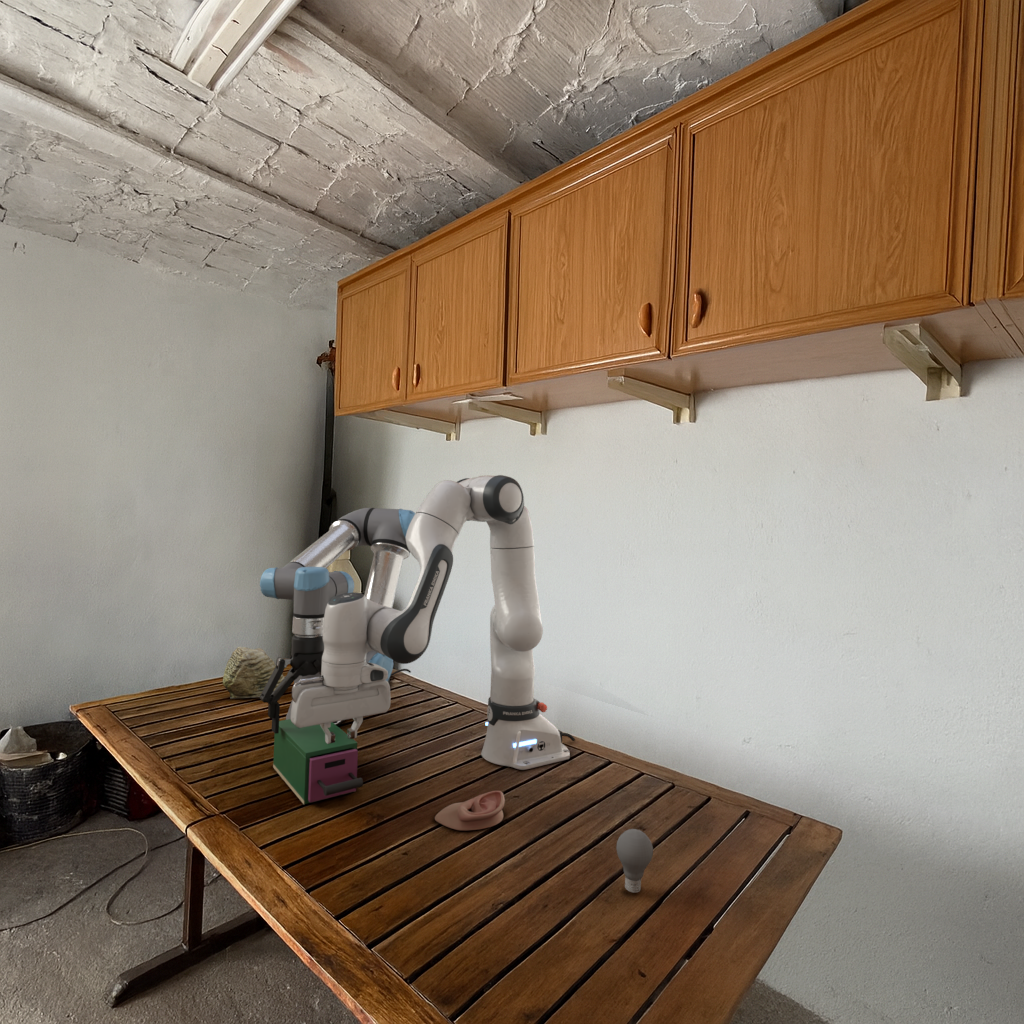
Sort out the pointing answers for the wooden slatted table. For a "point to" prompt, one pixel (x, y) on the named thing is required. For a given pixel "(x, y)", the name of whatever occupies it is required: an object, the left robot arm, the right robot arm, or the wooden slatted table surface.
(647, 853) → the light bulb
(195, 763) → the wooden slatted table surface
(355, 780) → the drawer
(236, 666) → the fossil
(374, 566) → the left robot arm
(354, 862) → the wooden slatted table surface
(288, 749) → the cabinet
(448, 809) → the anatomical model
